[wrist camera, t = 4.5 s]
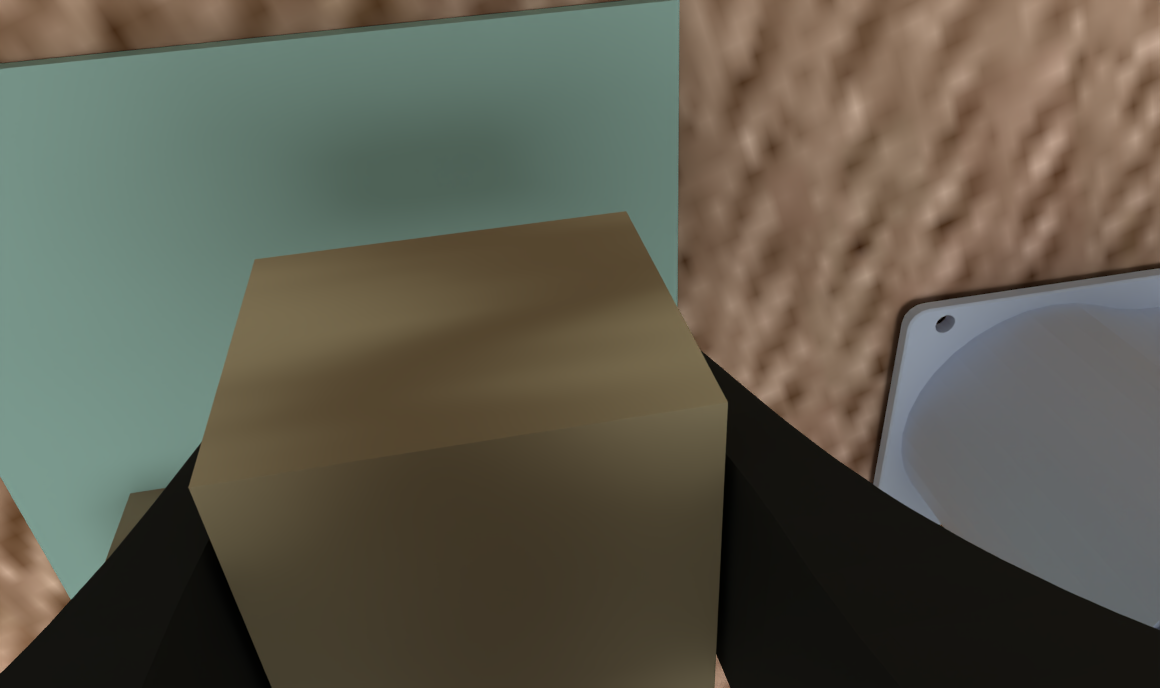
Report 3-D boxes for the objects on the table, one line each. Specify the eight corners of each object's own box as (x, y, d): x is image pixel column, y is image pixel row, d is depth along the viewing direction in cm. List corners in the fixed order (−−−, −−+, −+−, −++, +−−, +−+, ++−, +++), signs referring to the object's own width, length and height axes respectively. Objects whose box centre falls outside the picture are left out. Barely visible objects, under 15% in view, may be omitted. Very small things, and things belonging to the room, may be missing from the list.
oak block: (625, 211, 11) (728, 401, 7) (634, 480, 13) (712, 712, 10) (254, 259, 10) (189, 487, 7) (335, 529, 13) (315, 792, 9)
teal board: (673, -5, 17) (679, -1, 17) (672, 557, 26) (675, 567, 26) (-208, 84, 15) (-221, 91, 15) (114, 656, 24) (110, 668, 24)
